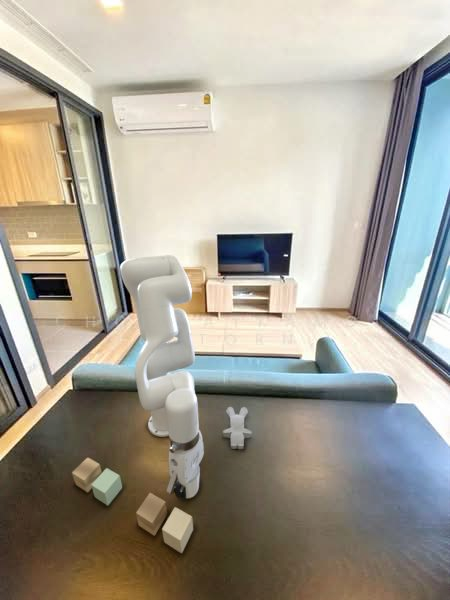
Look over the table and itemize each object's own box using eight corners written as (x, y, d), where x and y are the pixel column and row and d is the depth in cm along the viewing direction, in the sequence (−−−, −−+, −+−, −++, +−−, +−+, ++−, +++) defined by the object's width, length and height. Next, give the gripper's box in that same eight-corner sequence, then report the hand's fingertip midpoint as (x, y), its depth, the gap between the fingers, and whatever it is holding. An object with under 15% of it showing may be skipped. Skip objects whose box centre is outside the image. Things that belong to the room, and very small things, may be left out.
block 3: (152, 505, 66) (149, 492, 64) (167, 514, 64) (165, 501, 62) (138, 525, 61) (135, 512, 60) (154, 536, 59) (152, 523, 58)
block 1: (91, 469, 75) (87, 457, 73) (102, 476, 73) (99, 464, 71) (75, 484, 71) (71, 472, 69) (87, 492, 69) (83, 480, 67)
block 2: (109, 480, 72) (106, 467, 70) (122, 487, 70) (119, 475, 68) (94, 497, 68) (91, 484, 66) (107, 505, 66) (104, 493, 64)
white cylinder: (196, 503, 66) (195, 486, 63) (172, 497, 67) (170, 480, 65) (203, 477, 72) (203, 460, 70) (181, 472, 73) (179, 456, 71)
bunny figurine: (222, 442, 78) (224, 402, 92) (222, 452, 81) (224, 412, 94) (252, 443, 78) (250, 403, 91) (251, 452, 80) (249, 412, 94)
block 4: (176, 519, 63) (174, 506, 61) (193, 529, 61) (192, 516, 59) (163, 542, 58) (161, 529, 57) (181, 553, 56) (180, 540, 55)
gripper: (176, 473, 54) (182, 523, 60) (213, 415, 68) (214, 460, 75) (149, 459, 57) (157, 508, 63) (190, 406, 71) (193, 450, 78)
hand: (188, 482), depth 69 cm, fingers closed on white cylinder, 6 cm apart
